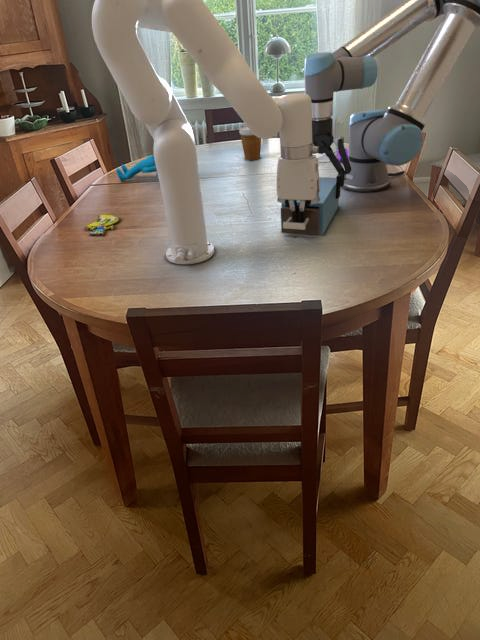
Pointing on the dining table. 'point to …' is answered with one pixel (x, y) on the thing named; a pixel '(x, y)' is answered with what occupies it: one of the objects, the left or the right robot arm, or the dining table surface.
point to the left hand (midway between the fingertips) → (299, 224)
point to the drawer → (300, 228)
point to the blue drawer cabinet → (325, 202)
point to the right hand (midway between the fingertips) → (317, 196)
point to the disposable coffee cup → (250, 143)
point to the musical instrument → (338, 156)
